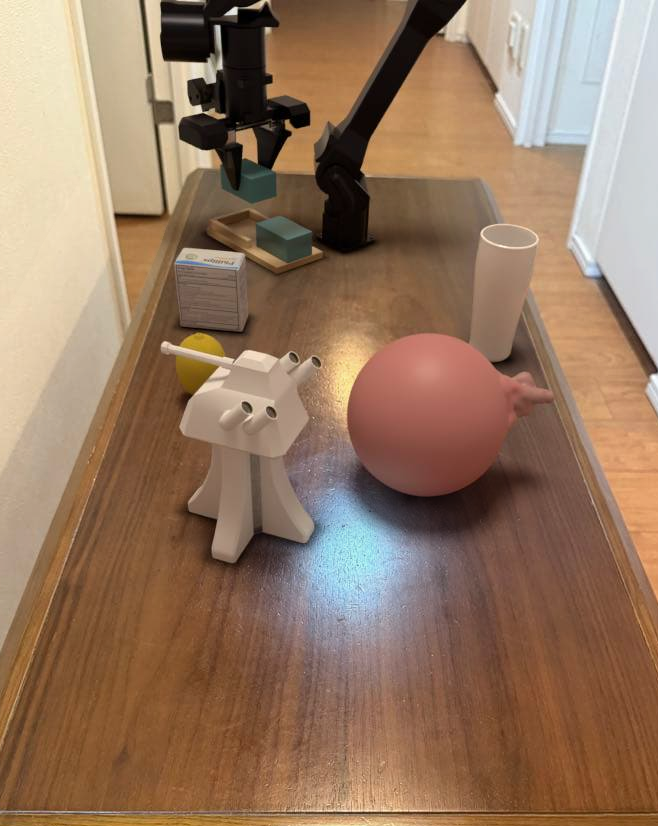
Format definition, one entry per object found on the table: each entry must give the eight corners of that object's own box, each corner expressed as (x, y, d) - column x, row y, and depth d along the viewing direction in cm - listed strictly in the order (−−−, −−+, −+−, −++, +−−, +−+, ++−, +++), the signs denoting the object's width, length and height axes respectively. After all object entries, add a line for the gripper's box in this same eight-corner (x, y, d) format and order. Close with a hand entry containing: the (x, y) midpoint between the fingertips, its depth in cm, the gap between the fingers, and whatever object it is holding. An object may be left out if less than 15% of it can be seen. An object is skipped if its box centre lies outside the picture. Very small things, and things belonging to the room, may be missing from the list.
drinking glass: (522, 347, 105) (547, 231, 95) (506, 372, 101) (530, 253, 90) (472, 334, 107) (490, 218, 97) (454, 358, 102) (471, 239, 92)
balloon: (555, 527, 81) (594, 392, 70) (349, 530, 79) (357, 392, 68) (520, 433, 92) (549, 304, 81) (339, 434, 90) (345, 302, 79)
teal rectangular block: (276, 196, 119) (276, 172, 117) (251, 204, 117) (250, 179, 114) (246, 181, 123) (245, 157, 120) (221, 188, 120) (219, 164, 118)
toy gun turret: (210, 465, 85) (195, 302, 72) (332, 497, 82) (338, 334, 70) (151, 540, 76) (123, 369, 64) (285, 578, 74) (283, 409, 61)
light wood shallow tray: (206, 234, 125) (204, 205, 122) (252, 220, 129) (251, 191, 126) (276, 274, 116) (276, 243, 113) (322, 258, 121) (323, 228, 118)
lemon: (189, 416, 91) (182, 351, 85) (172, 390, 94) (165, 326, 89) (236, 405, 93) (233, 341, 87) (219, 379, 96) (214, 316, 91)
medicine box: (249, 316, 107) (246, 251, 101) (242, 334, 104) (238, 268, 98) (188, 310, 108) (182, 245, 102) (180, 327, 104) (172, 261, 98)
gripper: (261, 41, 117) (264, 156, 128) (148, 60, 107) (161, 183, 118) (313, 59, 112) (312, 178, 122) (199, 80, 102) (208, 208, 113)
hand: (249, 186), depth 119 cm, fingers closed on teal rectangular block, 4 cm apart
